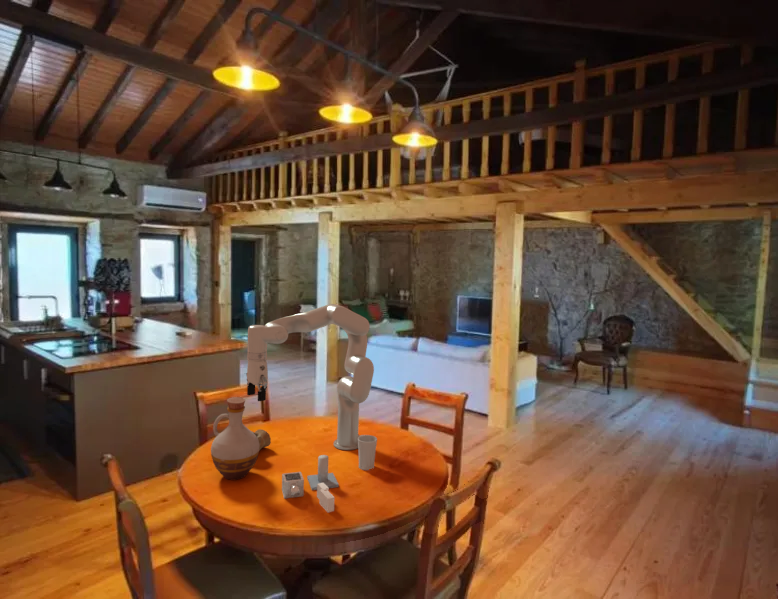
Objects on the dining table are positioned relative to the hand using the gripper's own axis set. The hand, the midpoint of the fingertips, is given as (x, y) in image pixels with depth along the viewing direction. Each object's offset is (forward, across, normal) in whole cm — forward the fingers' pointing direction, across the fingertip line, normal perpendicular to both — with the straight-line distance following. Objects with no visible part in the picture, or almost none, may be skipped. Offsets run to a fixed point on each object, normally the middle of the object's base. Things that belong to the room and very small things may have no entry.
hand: (256, 397), depth 193 cm
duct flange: (+28, -30, -14) cm, 43 cm away
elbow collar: (+28, -32, 0) cm, 42 cm away
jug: (+28, -4, +11) cm, 30 cm away
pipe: (+28, +9, -4) cm, 30 cm away
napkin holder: (+28, -43, -7) cm, 52 cm away
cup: (+28, -29, -36) cm, 53 cm away
